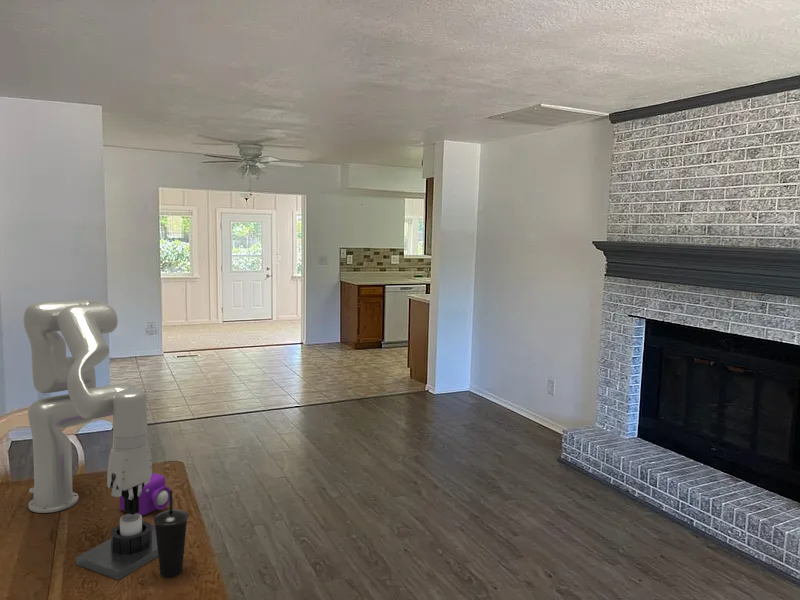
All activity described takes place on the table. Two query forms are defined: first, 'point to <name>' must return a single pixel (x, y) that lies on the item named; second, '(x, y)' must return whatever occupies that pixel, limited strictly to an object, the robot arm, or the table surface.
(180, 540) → the drinking cup
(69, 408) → the robot arm
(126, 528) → the white cylinder
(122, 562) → the lens mount
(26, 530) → the table surface
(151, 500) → the toy camera
